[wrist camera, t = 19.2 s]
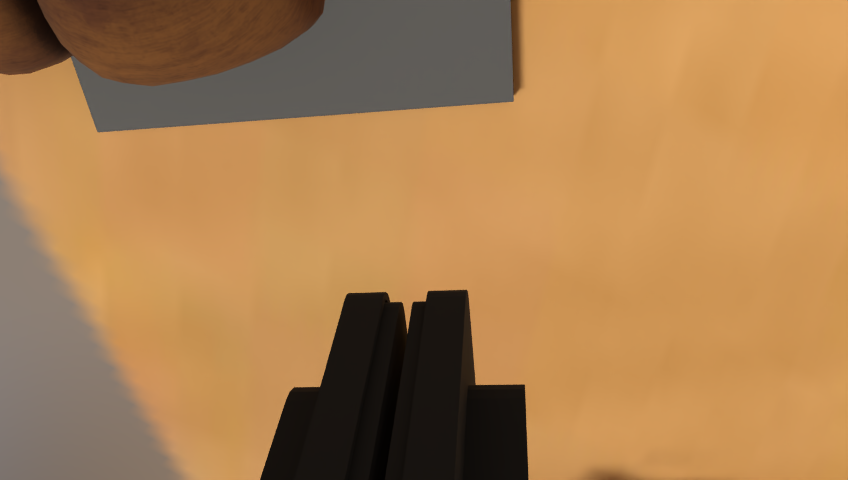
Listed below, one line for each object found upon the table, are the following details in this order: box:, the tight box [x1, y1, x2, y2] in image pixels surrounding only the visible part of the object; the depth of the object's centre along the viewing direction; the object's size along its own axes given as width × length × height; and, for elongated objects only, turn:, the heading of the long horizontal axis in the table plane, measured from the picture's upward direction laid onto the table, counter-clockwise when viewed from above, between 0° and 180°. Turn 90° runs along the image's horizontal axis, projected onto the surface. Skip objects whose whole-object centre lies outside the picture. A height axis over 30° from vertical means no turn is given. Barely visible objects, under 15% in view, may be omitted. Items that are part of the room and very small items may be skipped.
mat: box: [71, 0, 514, 132], centre depth 26 cm, size 15×7×1 cm, turn 95°
